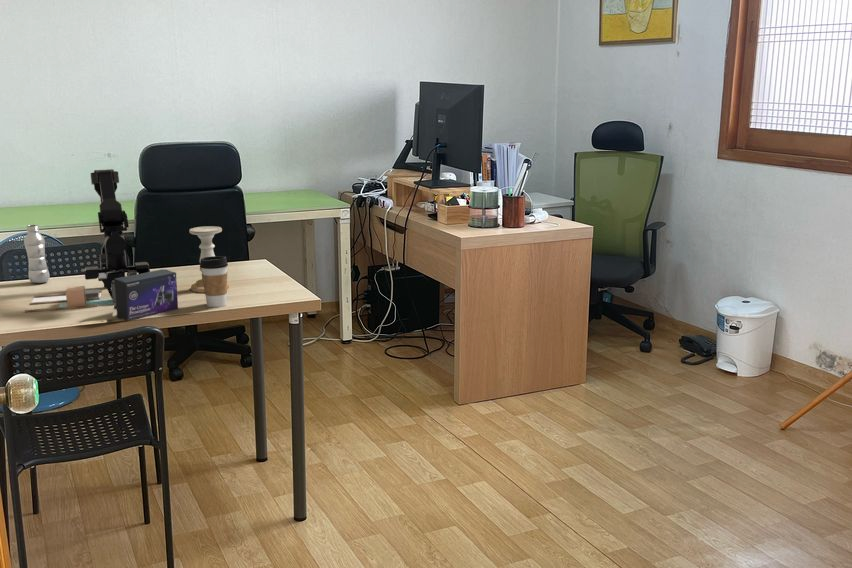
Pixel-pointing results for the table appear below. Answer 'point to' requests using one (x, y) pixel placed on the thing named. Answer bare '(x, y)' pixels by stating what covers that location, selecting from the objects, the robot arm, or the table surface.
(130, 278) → the box
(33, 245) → the plastic bottle
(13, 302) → the table surface
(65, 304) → the strip
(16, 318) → the table surface
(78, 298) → the cube
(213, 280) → the coffee cup
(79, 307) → the lane rails
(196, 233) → the candle holder
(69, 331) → the table surface
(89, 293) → the strip
